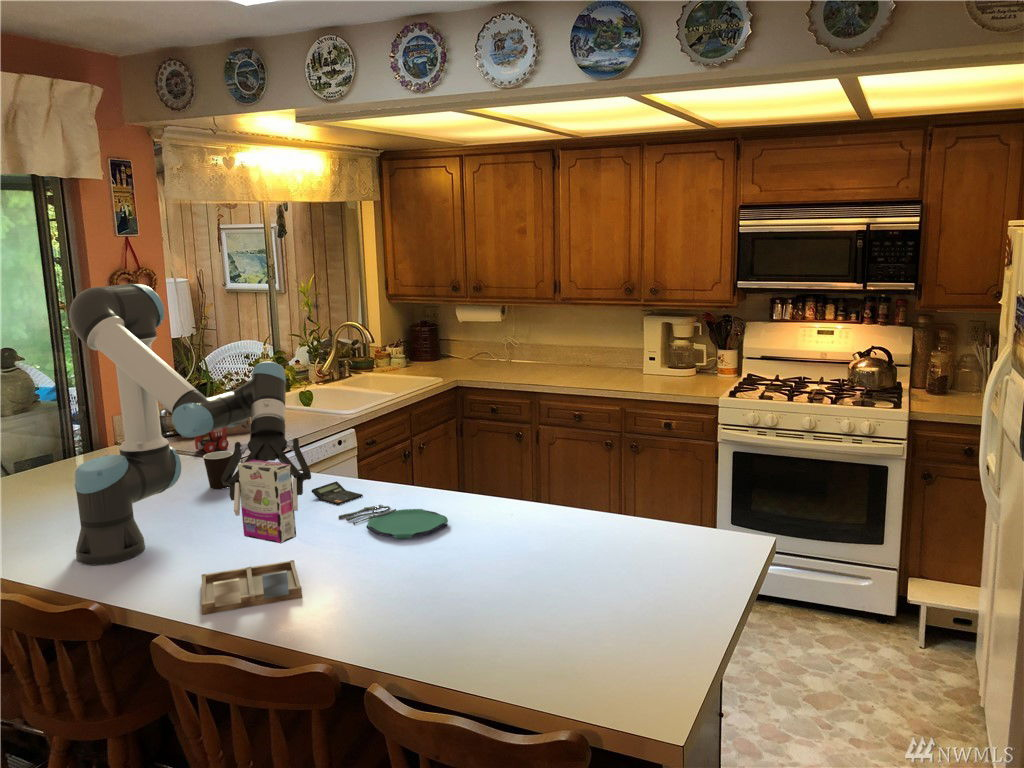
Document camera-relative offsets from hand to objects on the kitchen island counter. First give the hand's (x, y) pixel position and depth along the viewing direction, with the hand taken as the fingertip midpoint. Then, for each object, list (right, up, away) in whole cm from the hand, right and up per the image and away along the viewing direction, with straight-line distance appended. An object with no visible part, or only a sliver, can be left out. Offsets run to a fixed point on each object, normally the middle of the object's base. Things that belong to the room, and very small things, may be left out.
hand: (266, 510), depth 170 cm
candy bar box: (0, -6, +4) cm, 8 cm away
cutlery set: (+21, -11, +43) cm, 50 cm away
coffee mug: (-38, -5, +80) cm, 88 cm away
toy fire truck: (-57, +3, +121) cm, 134 cm away
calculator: (+1, -7, +65) cm, 66 cm away
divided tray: (-5, -18, +4) cm, 19 cm away
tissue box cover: (-65, +8, +149) cm, 163 cm away
